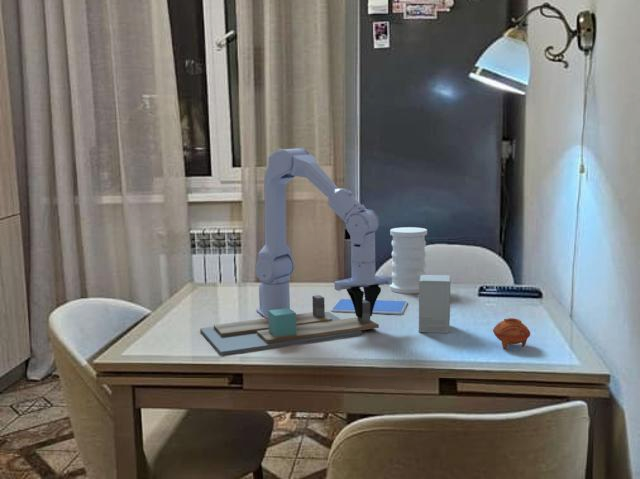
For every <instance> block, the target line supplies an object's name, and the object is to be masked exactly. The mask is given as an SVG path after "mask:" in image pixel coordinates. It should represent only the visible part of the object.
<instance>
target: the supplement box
mask: <svg viewBox="0 0 640 479" xmlns="http://www.w3.org/2000/svg"><path fill="white" fill-rule="evenodd" d="M450 322H451V275H449V274H448V275H447V274H442V275H441V274H426V275H421V276H420V280H419V293H418V332H419V333H432V334H434V333H435V334H450V324H451V323H450Z"/></svg>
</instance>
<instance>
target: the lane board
mask: <svg viewBox="0 0 640 479" xmlns="http://www.w3.org/2000/svg"><path fill="white" fill-rule="evenodd" d="M325 315H327V316H328V317H330V318H332V321H334V320H342V319H341V318H340V317H338V316H336V315H335V314H333V313H332V312H331V311H325ZM199 330H200V331H199V332H200V333H201V334H202V335H203V336H204V337H205V339H207V341H208V343H210V344H211V346H212V347H213V348H214V349H215V350H216V351H217V353H218V354H219V355H220V356H226V355H234V354H241V353H247V352H254V351H262V350H269V349H274V348H281V347H288V346H294V345H302V344H310V343H317V342H323V341H329V340H337V339H343V338H350V337H358V336H362V335H363V331H362V330H360V331H353V332H346V333H339V334H331V335H324V336H317V337H310V338H303V339H296V340H289V341H282V342H275V343H268V344H267V343H266V342H265V341H264V340H263V339H262V338H261V337H260V336H258V335H257V332H255V333H248V334H240V335H233V336H226V337H222V336H221V335H220V334H219V333H218V332H217V331H216V330H215V329H214V326H209V327H200V328H199Z"/></svg>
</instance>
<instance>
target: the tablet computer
mask: <svg viewBox="0 0 640 479" xmlns="http://www.w3.org/2000/svg"><path fill="white" fill-rule="evenodd" d="M408 304H409V303H408V301H406V300H382V299H377V300H376V302H375V305H374V308H373V312H372V315H373V314H374V315H376V314H377V315H395V316H396V315H397V316H402V315H403V314H404V312H405V310H406V308H407V306H408ZM330 313H351V314H356V313H355V309H354V305H353V302H352V300H351V298H350V299H349V298H342V299H339V300H338V301H337V302H336V303H335V304H334V306H332V307H331V309H330Z"/></svg>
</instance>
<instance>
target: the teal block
mask: <svg viewBox="0 0 640 479" xmlns="http://www.w3.org/2000/svg"><path fill="white" fill-rule="evenodd" d="M296 314H297V313H296V312H295V311H294V310H292V309H291V308H290V309H289V308H284V309H276V310H268V319H269V332H270V333H272V334H273V335H274V336H275V337H279V336H286V335H293V334H296Z"/></svg>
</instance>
